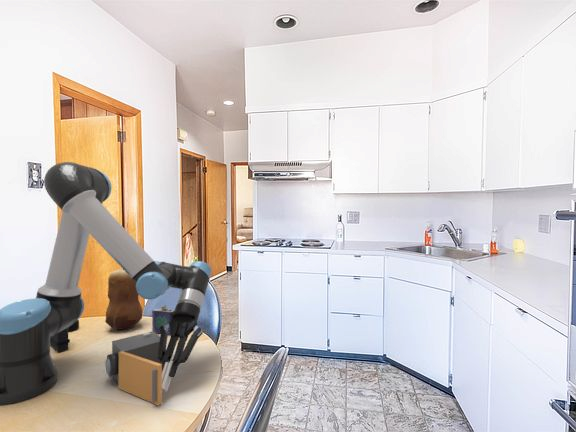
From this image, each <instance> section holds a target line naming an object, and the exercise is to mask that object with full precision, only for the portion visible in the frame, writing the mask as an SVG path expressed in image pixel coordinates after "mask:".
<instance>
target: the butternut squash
mask: <svg viewBox="0 0 576 432" xmlns="http://www.w3.org/2000/svg"><path fill="white" fill-rule="evenodd" d="M107 279H108V280H107V281H108V282H107V283H108V285H107V286H108V288H107V289H108V290H107V298H108V300H109V301H108V302H109V303H108V304H107V308H106V312H105V321H104V322H105V323H106V324H107V325H108V326H110V328H112V329H115V330H129V329H132V328H133V327H134V326H136V325H137V324H138V323H140V321H141V319H142V318H143V308H142V304H141V302H140V300H139V297H140V296H139V294H138V293H137V290H136V283H135V281H134V280H133V279H132V278H131V277H130V276H129V275H128V274H127V273H126V272H125V271H124V270H123V269H117V270H113V271H112V272H111V273H110V274H109V276H108V278H107Z"/></svg>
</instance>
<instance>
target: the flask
mask: <svg viewBox="0 0 576 432" xmlns="http://www.w3.org/2000/svg"><path fill="white" fill-rule="evenodd" d="M166 306H167V304H163V305H161V306H160V308H154V309H152V310H151V311H152V313H151V314H152V320H151V322H152V326H151V329H152V330H151V331H153V332H155V333H156V334H157V335H159V334H161V332H160V326H162V325H163V326H166V325H168V324H169V322H170V321H171V320H172V318H173V313H174V311H175V309H171V308H168V307H166ZM171 333H172V332H171V330H170V329H169V333H167V334H168V336H169V337H171Z"/></svg>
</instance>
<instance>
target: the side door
mask: <svg viewBox="0 0 576 432" xmlns="http://www.w3.org/2000/svg"><path fill="white" fill-rule="evenodd" d="M118 389H119V390H121V391H124V392H126V393H129V394H131V395H134V396H136V397H138V398H140V399H143V400H145V401H147V402H149V403H152V404H154V405H157V406H160V405H161V404H163V399H162V398H163V397H162V396H163V391H162V364H160V363H157V362H154V361H151V360H148V359H145V358H142V357H139V356H136V355H133V354H130V353H127V352H124V351H121V352H119V383H118Z"/></svg>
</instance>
